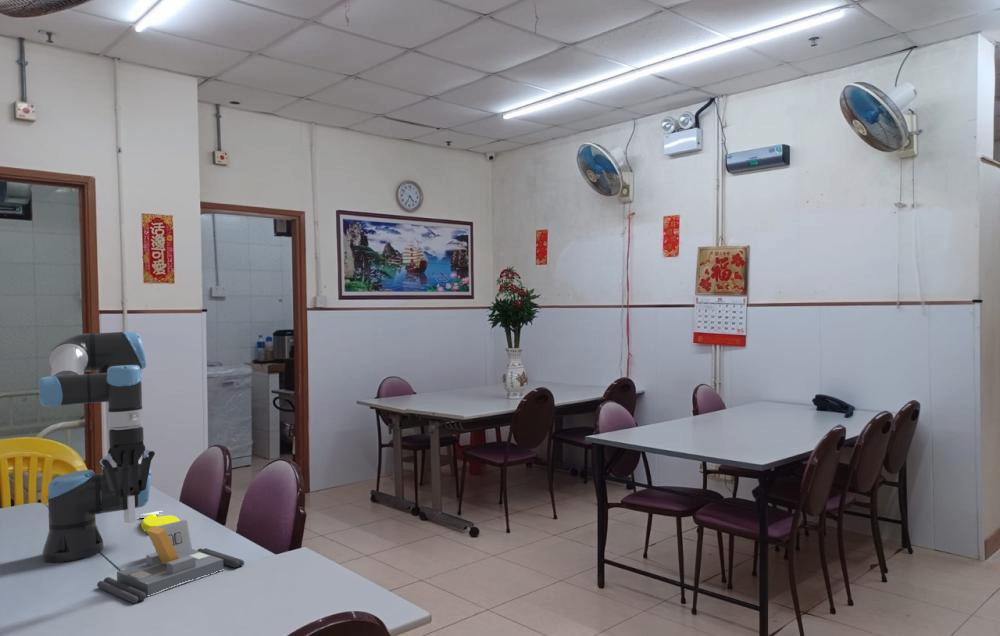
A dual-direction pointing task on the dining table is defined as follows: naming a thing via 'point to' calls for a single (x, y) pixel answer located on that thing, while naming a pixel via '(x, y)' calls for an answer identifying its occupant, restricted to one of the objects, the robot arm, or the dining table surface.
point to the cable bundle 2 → (224, 558)
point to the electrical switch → (178, 535)
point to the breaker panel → (166, 577)
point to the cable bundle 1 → (121, 590)
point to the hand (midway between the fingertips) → (129, 521)
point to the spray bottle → (156, 520)
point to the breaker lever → (162, 544)
